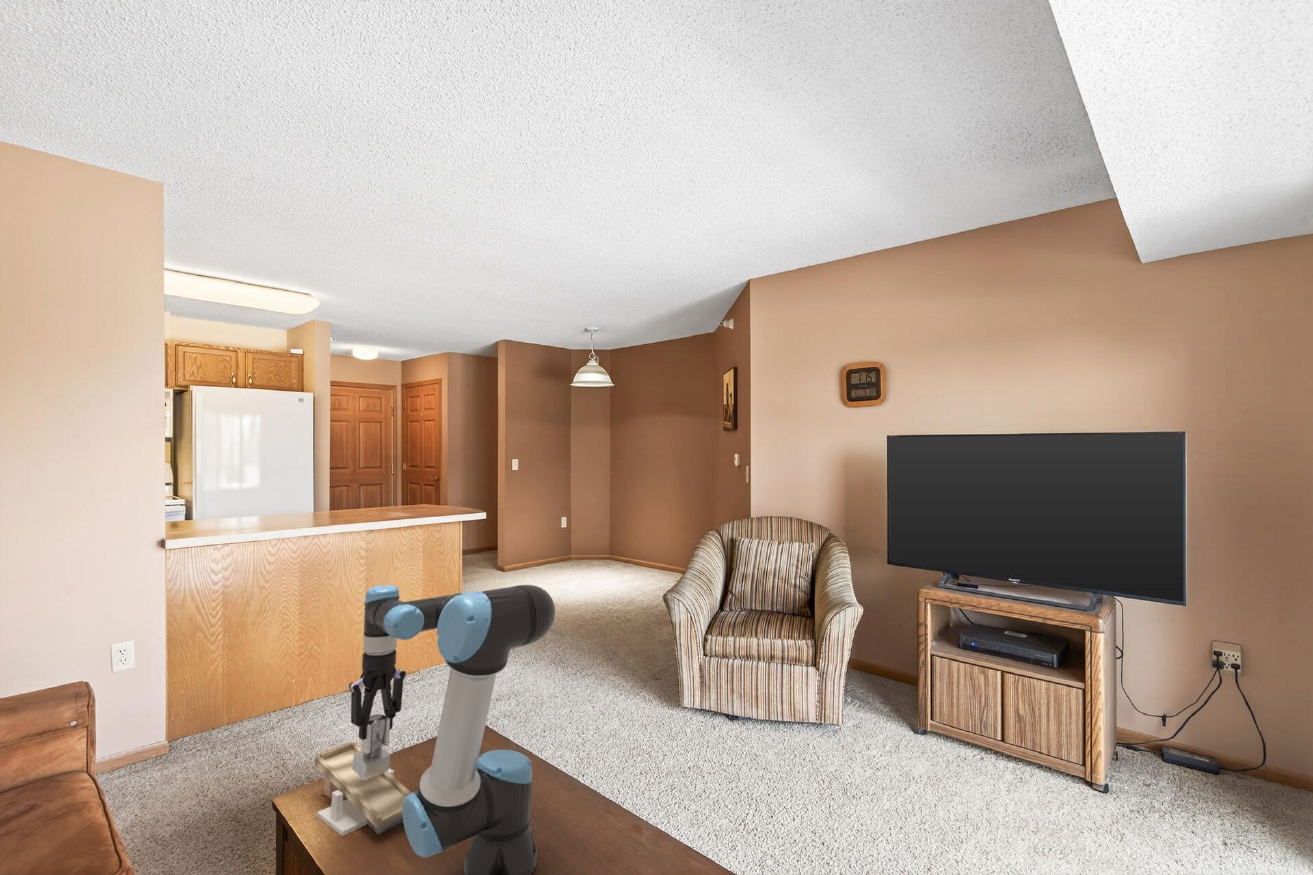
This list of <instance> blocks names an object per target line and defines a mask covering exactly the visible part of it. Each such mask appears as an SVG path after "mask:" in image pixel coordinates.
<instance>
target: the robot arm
mask: <svg viewBox="0 0 1313 875" xmlns="http://www.w3.org/2000/svg"><path fill="white" fill-rule="evenodd" d="M365 592H366V593H365V599H364V615H363V616H364V617H363V618H364V619H363V641H362V642H363V644H362V651H363V653H362V659H361V660H362V661H361V662H362V664H361V668H362V669H361V670H362V671H361V672H362V673H361V675H360V677H359V679H358V680H357V681H355V682H350V683H349V685H348V688H349V690H350V700H351V701H350V702H351V703H350V723H351V724H352V725H354V726H356V727H358V738H359V739H360V740H361V750H362V751H363V752H365V753H367V754H368V753H370V746H371V724H369V719H370V716H371V714H372V708H373V704H374V701H375V697H376V696H377V693H378V691H380V694H381V700H382V706H383V713H384V714H383V715H384V716H385V717H386V722H385V729H384V737H383V745H382V746H385V747H388V746H389V745H390V731H391V730H392V729H393V723H394V722H393V720H394V719H395V717H396V716H397V715H396V713H399V712H401V710H402V700H403V689H404V680H405V677H406V675H407V671H405V670H403V669H400V668H399V669H397V667H396V664H397V650H396V648H398V647H397V646H398V640H403V641H406V640H407V641H408V640H411V639H413V638H414V637H415V636H417V635H420V633H422V632H427V631H432V630H435V629H436V635H437V636H438V637H437V640H436V642H437V648H438V651H439V653H440V655H441V656H442V658H443V659H444V661H445V664H446V666H448V668H449V669H450V672H449V676H448V682H447V687H446V689H445V692H446V693H445V696H444V702H443V706H442V712H441V716H440V722H439V726H438V731H437V737H436V740H435V746H434V751H433V756H432V761H431V765H430V766H429V767H428V768H427V769H426V770H425V771H424V772H423V774H422V775H421V777H420V781H419V784H418V785H419V786H418V788H417V791H415V792H413V791H412V792H411V794H410V795H408V796H406V797H405V799H404V801H403V806H402V815H403V822H402V823H403V826H404V831H405V834H406V838H407V839H408V842H409V844H410V846H411V849H412V850H413V852H414V853H415V854H416V855H417V856H418V857H421V858H430V857H432V856H434V855H436V854H437V855H438V854H441V853H443V852H444V851H446V850H449V849H450V848H452V847H454V846H456V845H458V844H460V843H463V842H464V841H466V840H468V839H471V842H470V845H469V848H468V850H467V851H466V854H465V858H464V868H463V869H464V870H463V871H464V872H463V873H464V875H530V874H531V873H532V872H534V871H535V869H536V867H537V863H538V862H537V859H538V858H537V857H538V851H537V846H536V843H535V842H536V841H535V838H534V836H533V832H532V828H531V808H532V807H531V805H532V782H533V779H534V778H533V769H532V768H533V766H532V765H533V764H532V762H531V760H530V758H529V757H528V756H527V755H525V754H524V753H522V752H520V751H517V750H511V749H493V750H488V751H486V752H484V753H482V754H481V755H480V752H481V747H482V742H483V738H484V733H485V730H486V729H485V728H486V725H487V724H486V723H487V719H488V715H489V710H490V705H491V701H492V696H493V692H494V686H495V682H496V678H497V674H499V673H501V672H502V671H504V669H505V668H506V667H507V664H508V659H509V654H510V651H511V650H512V649H516V648H517V649H518V648H520V647H524V646H528V645H531V644H533V643H536V642H538V641H539V640H540V639H542V638H544V637H545V636H546V635H547V634H548V633H549V631H550V629H551V628H552V626H553V624H554V621H555V617H556V605H555V602H554V600H553V598H552V596H551V595H550V593H549V592H547V590H545V589H543V588H542V587H540V586H537V585H533V584H520V585H515V586H508V587H503V588H502V587H501V588H496V589H495V588H494V589H489V590H484V591H483V590H482V591H479V590H478V591H476V590H475V591H470V592H458V593H457V592H456V593H453V594H448V595H441V596H434V597H428V598H422V599H415V600H409V601H408V600H407V601H402V600H400V597H401V596H400V589H399V587H398V586H396V585H391V584H389V585H387V584H386V585H376V586H372V587H369V588H368V589H367V590H366V591H365ZM392 680H393V683H392ZM391 683H392V684H391ZM363 686H364V691H363V693H364V695H362V690H363ZM362 696H363V700H362ZM535 866H536V867H535ZM534 868H535V869H534ZM533 870H534V871H533ZM532 874H533V873H532ZM532 874H531V875H532Z"/></svg>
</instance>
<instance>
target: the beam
mask: <svg viewBox="0 0 1313 875" xmlns="http://www.w3.org/2000/svg"><path fill="white" fill-rule="evenodd" d="M358 751H361V747H360V746H359V745H358V744H357V743H356V742H352V741H349V742H347V743H345V744H341V745H339V746H337V747H333V748H331V749H329V750H326V751H322V752H320V753H319V755H317V756H315V759H314V766H315V767H316V768H317V769H318V770H319V771H320V772H321V773H322V775H323V776H324V777H325V776H326V777H327V778H328V779H329V780H330V781H331V782H332V783H333V784H334V785H335V786H336V787H337V788H338V789H339V790H340V791H341V793H343V799H344V798H346V799H349V800H350V802H351V803H352V804H353V805H354V806H355V807H356V808H357V809H358V810H359V811H360V812H361V813H362V814H363V815H364V816H365V817H366V818H367V824H366V825H368V826H369V827H370V828H371V829H372V830H373V831H374V832H375V833H376V834H377V835H380V834H382V833H384V832H386V831H388V830H390V829H392V828H394V827H396V826H398V825H399V824H401V823H404V822H403V815H402V806H403V801H404V799H405V797H406V796H408V795H410V794H411V793H412V792H411V791H410V790H409V789H408V788H407V787H406V786H404V785H403V784H402V783H401V782H400V781H399V780H398V779H396V777H395V776H394V777H393V776H392V775H391V774H390V773H389V772H387V771H386V772H384V773H382V774H379V775H377V776H375V777H373V778H370V779H368V780H366V781H364V780H363V779H362V778H361V777H360V776H359V775H358V774H357V773H356V772H355V771H354V770H353V769H352V765H353V757H354V753H356V752H358Z"/></svg>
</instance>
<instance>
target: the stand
mask: <svg viewBox="0 0 1313 875" xmlns="http://www.w3.org/2000/svg"><path fill="white" fill-rule="evenodd" d="M387 772H389V773H390V774H391V775H392V776H393V777H394V778H395V770H393V769H392V768H390V767H389V771H387ZM323 780H324V781H323V783H324V784H323V795H325V796H326V797H328V798H329V799H330V798H331V802H330V804H331V805H330V806H328V807H326V808H324V809H322V810H319V811H317V818H319V819H320V820H321V821H322V822H324V823H325V824H326V825H327V826H328V827H330V828H331V829H333V830H334V831H335V832H336V833H338V834H339V835H340V836H341V837H343V836H345V835H348V834H350V833H352V832H354V831H356V830H358V829H360V828H362V827H364V826H366V825H368V824H367V818H366V817H365V816H364V815H363V814H362V813H361V812H360V811H359V810H358V809H357V808H356V807H355V806H354V805H353V804H352V803H351V802H350V800H349V799H348V798H346V799H344V798H343V793H341V791H340V790H339V789H338V788H337V787H336V786H335V785H334V784H333V783H332V782H331V781H330V780H329V779H328V778H327V777H326V776H325V775H324V779H323Z"/></svg>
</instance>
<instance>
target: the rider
mask: <svg viewBox="0 0 1313 875" xmlns="http://www.w3.org/2000/svg"><path fill="white" fill-rule="evenodd" d="M385 722H386V717H385V714H380V713H377V714H376V713H375V714H372V715H370V719H369V724H371V746H370V753H368V754H367V753H365V752H363V751H362V750H361V751H358V752H356V753H354V757H353V765H352V769H353V770H354V771H355V772H356V773H357V774H358V775H359V776H360V777H361V778H362V779H363V780H364V781H366V780H368V779H370V778H373V777H375V776H377V775H379V774H382V773H384V772H386V771H389V768H390V762H391V754H390V752H388V751H387V750H386V749H384V748H383V746H384V745H383V737H384V729H385Z"/></svg>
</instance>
